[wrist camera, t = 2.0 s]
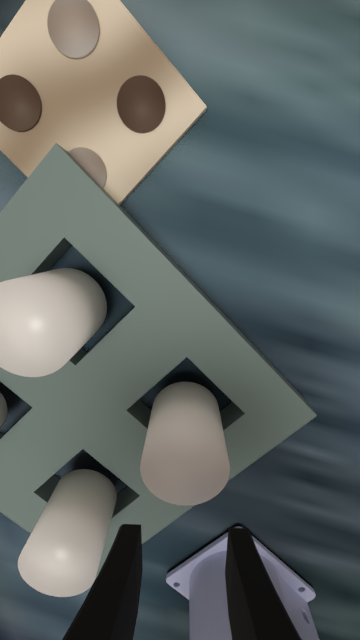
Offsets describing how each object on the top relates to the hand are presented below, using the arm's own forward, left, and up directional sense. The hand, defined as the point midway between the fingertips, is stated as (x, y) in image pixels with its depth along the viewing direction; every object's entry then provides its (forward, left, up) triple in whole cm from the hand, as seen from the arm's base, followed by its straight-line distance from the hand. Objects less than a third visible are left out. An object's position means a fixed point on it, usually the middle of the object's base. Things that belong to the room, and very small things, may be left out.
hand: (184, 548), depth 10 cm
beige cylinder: (0, 0, -8) cm, 8 cm away
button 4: (+9, 0, -8) cm, 12 cm away
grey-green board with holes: (+4, +5, -10) cm, 12 cm away
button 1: (0, +9, -8) cm, 12 cm away
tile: (+16, -7, -10) cm, 20 cm away
